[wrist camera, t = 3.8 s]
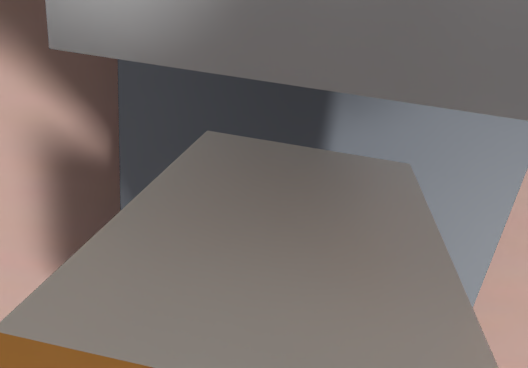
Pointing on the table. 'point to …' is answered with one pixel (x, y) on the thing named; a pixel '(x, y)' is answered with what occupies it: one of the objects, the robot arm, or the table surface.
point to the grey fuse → (321, 44)
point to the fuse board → (335, 144)
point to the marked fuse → (257, 272)
